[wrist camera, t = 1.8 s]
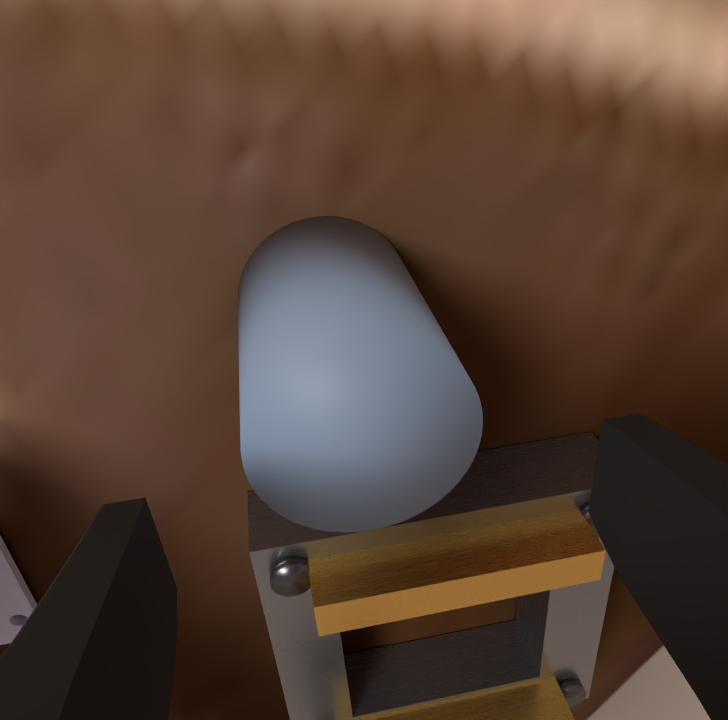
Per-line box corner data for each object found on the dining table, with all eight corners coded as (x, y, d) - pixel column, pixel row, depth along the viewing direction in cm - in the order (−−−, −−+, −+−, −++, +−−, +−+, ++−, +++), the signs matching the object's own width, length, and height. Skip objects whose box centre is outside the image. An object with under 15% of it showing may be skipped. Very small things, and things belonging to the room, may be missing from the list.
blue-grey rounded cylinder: (222, 228, 15) (218, 358, 10) (404, 205, 16) (486, 317, 11) (253, 382, 18) (262, 550, 13) (410, 357, 18) (480, 510, 13)
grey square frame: (247, 491, 19) (251, 601, 16) (591, 431, 21) (661, 522, 17) (294, 698, 25) (304, 810, 22) (561, 642, 26) (609, 740, 23)
